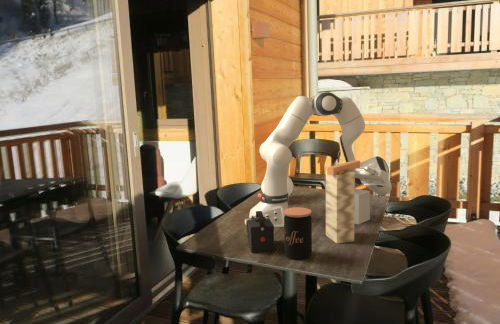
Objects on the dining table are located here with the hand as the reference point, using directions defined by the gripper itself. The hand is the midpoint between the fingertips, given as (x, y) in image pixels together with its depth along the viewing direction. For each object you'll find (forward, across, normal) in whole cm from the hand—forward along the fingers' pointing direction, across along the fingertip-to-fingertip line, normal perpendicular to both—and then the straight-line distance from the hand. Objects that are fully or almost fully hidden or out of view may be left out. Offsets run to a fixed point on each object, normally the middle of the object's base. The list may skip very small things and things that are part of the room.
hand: (356, 166), depth 200 cm
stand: (-4, 0, +32) cm, 32 cm away
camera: (+21, -19, +47) cm, 54 cm away
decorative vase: (-26, -58, +19) cm, 66 cm away
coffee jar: (+19, -1, +45) cm, 49 cm away
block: (+8, 0, +5) cm, 10 cm away
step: (-26, -8, +19) cm, 33 cm away
